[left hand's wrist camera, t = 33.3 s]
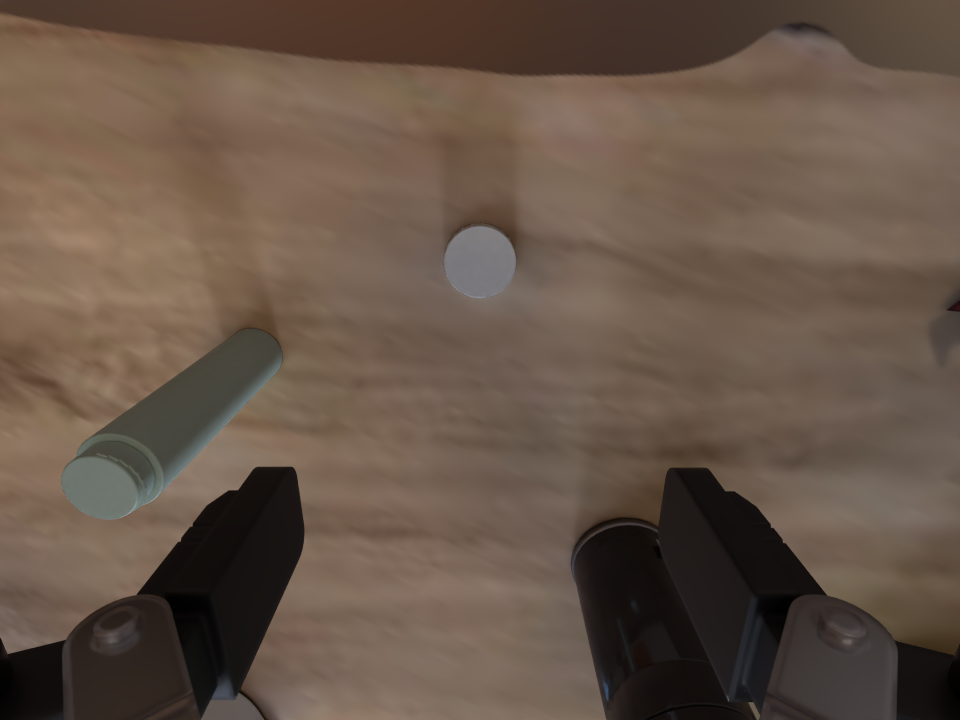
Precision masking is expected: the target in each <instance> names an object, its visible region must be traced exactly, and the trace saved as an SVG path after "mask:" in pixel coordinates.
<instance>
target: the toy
mask: <svg viewBox="0 0 960 720" xmlns="http://www.w3.org/2000/svg"><path fill="white" fill-rule="evenodd" d="M948 311H959V312H960V301H959V302H958V303H956V304H955V305H953V306H952V307H950V308H949V309H948Z"/></svg>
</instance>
